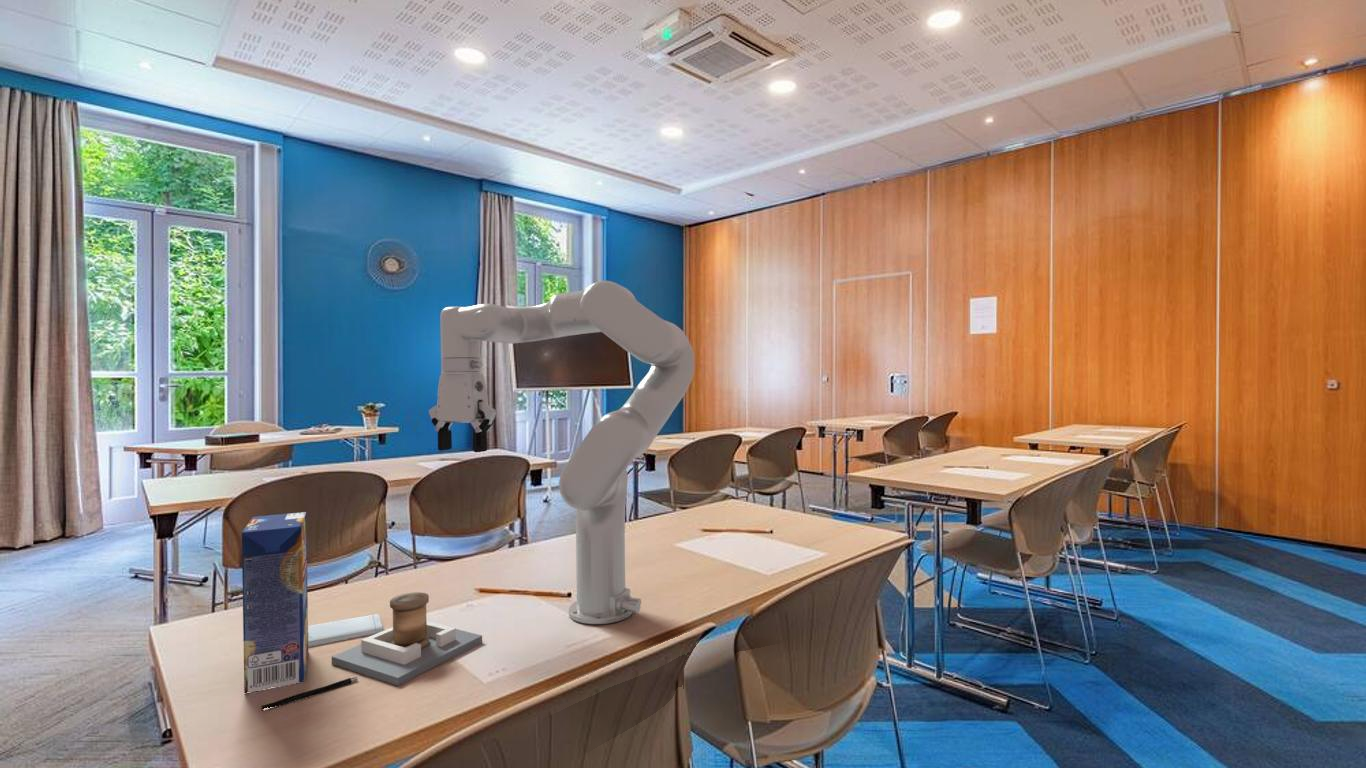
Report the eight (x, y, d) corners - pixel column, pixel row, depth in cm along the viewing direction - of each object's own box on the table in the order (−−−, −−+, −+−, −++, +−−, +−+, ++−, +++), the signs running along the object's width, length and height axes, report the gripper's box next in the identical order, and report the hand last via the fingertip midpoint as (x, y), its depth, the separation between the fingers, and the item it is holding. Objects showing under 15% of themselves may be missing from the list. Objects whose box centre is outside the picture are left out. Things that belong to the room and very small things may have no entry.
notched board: (482, 642, 108) (482, 624, 108) (397, 685, 93) (397, 664, 93) (419, 626, 115) (419, 609, 115) (331, 663, 100) (331, 644, 100)
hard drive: (303, 641, 106) (382, 626, 113) (304, 625, 113) (379, 611, 120) (303, 651, 106) (382, 635, 113) (304, 634, 113) (379, 620, 120)
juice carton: (303, 682, 94) (301, 526, 94) (244, 694, 91) (241, 532, 90) (308, 652, 105) (306, 511, 104) (255, 662, 101) (253, 516, 101)
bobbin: (437, 642, 105) (436, 595, 105) (407, 656, 100) (406, 607, 100) (413, 635, 108) (412, 590, 108) (382, 649, 103) (381, 601, 103)
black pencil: (356, 681, 95) (356, 675, 95) (358, 683, 94) (357, 677, 94) (261, 711, 87) (261, 703, 87) (263, 713, 86) (262, 706, 86)
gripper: (506, 366, 126) (507, 450, 126) (444, 368, 133) (445, 447, 133) (479, 366, 119) (481, 454, 119) (415, 368, 126) (417, 451, 127)
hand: (462, 450), depth 126 cm, fingers open, 9 cm apart
